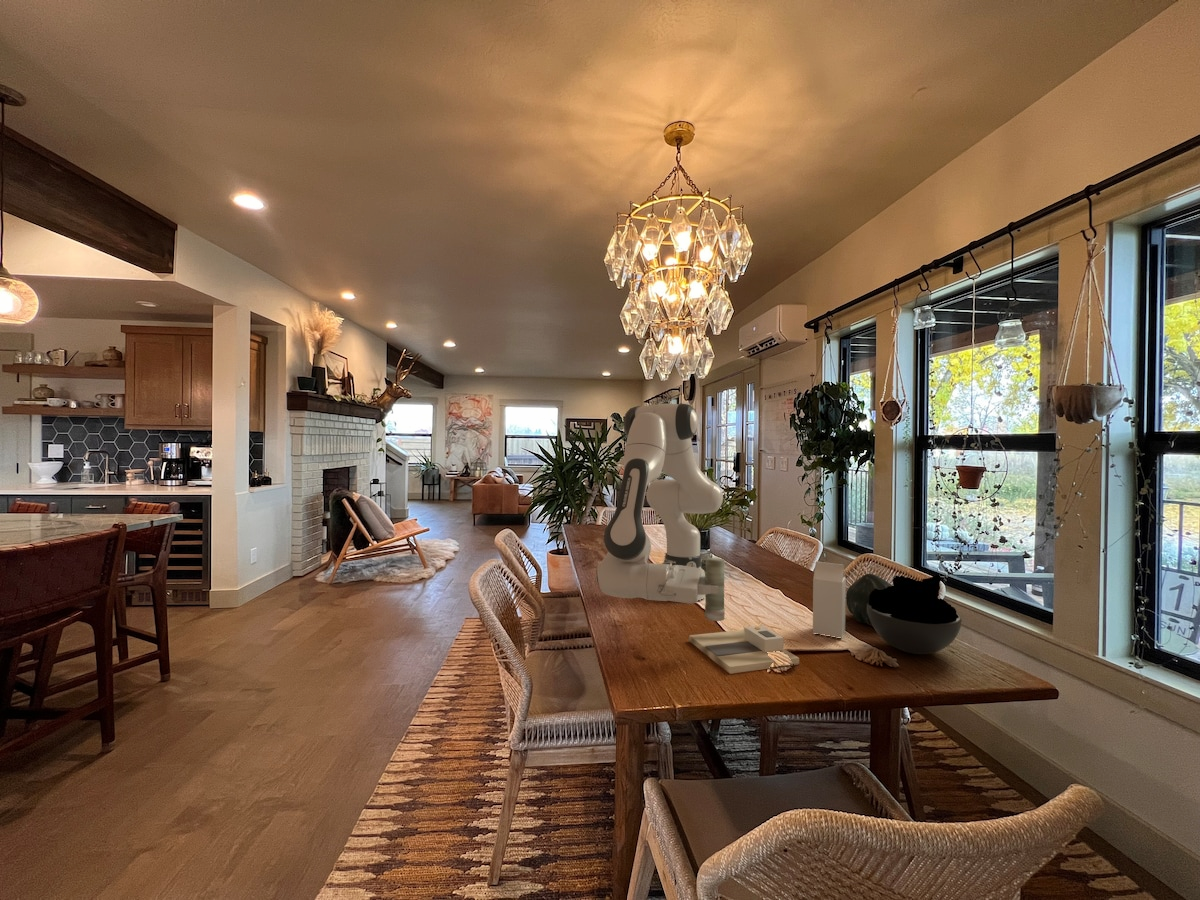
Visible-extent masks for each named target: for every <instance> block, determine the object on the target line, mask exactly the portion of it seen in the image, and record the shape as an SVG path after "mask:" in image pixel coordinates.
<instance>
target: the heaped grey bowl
mask: <svg viewBox="0 0 1200 900" xmlns="http://www.w3.org/2000/svg"><path fill="white" fill-rule="evenodd" d="M891 581H892V586H888V587H887V588H886V589H882V590H878V589H876V588H875V589H874V590H873V591H872V592H871V594H870V595H869V603H868V604H867V612H868V616H869V619H870V622H871V624H872V625H871V626H872V627H873V629H874V630H875V632H876V634H878V635H879V636H880V638H881V639H883V641H885V642H886V643H887V644H889V645H890V646H892V648H893V647H894V648H896V649H897V650H899V651H902V652H905V653H908V654H912V655H928V654H934V653H937V652H939V651H942V650H944V649H946V648H947V647H948V646H950V645H951V644H952V643H953V642H954V641H955V639H956V638H957V636H958V634H959V632H960V631H961V627H962V626H961V625H962V622H963V621H962V619H963V618H962V617H961V616H960V614H958V613H957V609H956V608H955V607H953V606H952V605H951V603H948V602H947V601H946V600H945V599H943V598H939V595H940V589H941V585H940V583H941V582H942V576H941V575H939V574H938V575H933V576H931V577H927V578H922V580H918V579H917V580H916V579H914V578H911V577H909V576H904V575H894V577H893V578H892V580H891Z"/></svg>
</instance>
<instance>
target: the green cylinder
mask: <svg viewBox="0 0 1200 900" xmlns="http://www.w3.org/2000/svg"><path fill="white" fill-rule="evenodd" d="M725 562H726V561H725V559H723V558H719V557H708V558H706V559H705V576H706V585H711V584H713V585H718V586H719V590H718V594H706V596H705V598H704V601H705V606H704V618H705V619H706V620H708V621H713V622H721V621H722V622H723V621H724V620H725V613H726V612H725V609H726V608H725V565H726V564H725Z"/></svg>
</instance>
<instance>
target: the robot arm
mask: <svg viewBox="0 0 1200 900" xmlns="http://www.w3.org/2000/svg"><path fill="white" fill-rule="evenodd" d="M698 425H699V419H698V415H697V411H696V409H695V408H694V407H693V406H692V405H691V404H688V403H678V404H677V403H658V404H647V405H645V406H641V405H638V406H637V405H636V406H634V407H631V408H629V409H628V410H627V411H626V413H625V414H624V417H623V428H624V429H623V430H624V433H625V435H626V437H627V438H626V442H625V447H624V455H623V469H622V470H623V473H622V479H621V484H620V489H619V494H618V499H617V504H616V508H615V512H614V513H613V515H612V517H611V519H610V520H609V521H608V523H607V524H606V527H605V529H604V533H603V543H604V546H605V548H606V550H607V553H606V554H605V557H603V559H602V560H601V561H600V562H599V563H598V564H597V567H596V581H597V582H596V583H597V585H598V587H599V590H600V591H601V592H602V593H603V594H605V595H607V596H610V597H615V598H623V599H635V598H640V599H641V598H642V599H645V600H648V601H660V602H662V601H663V602H669V601H670V602H675V603H683V604H696V603H698V602H699V601H698V600H700V601H702V600H701V599H703V598H704V597H705V598H706V594H718V590H719V586H718V585H713V584H711V585H706V571H705V570H704V569H703V568H702V565H703V564H702V561H703V559H702V554H701V533H700V531H699V529H698V528H697V527H696V526H695V525H694V524H692V523H690V522H689V521H688V520H687V519H686V516H685V514H696V515H698V514H699V515H705V514H712V513H717V511H718V510H719V509H720V508H721V506H722V504H723V501H724V496H723V491H722V489H721V486H720V485H718V483H716V482H714V481H713V480H711V479H710V478H709V477H707V476H706V475H705V474H704V472H703V471H702V470H701V469H700V467H699V466H698V463H697V460H696V456H695V453H694V446H693V441H692V437H693V436H695V434H696V433H697V429H698ZM662 472H663V473H664V474H665V475H666V476H668V477H669V478H667V479H666V478H665V479H664V478H663V479H660V480H657V479H659V478H660V477H661V474H662ZM670 478H671V479H670ZM645 497H646V502H647V504H648V505H649V507H650V508H651V509H652V510H654V512H656V513H657V515H658V516H659V518H660V519H661V521H662V523H663V525H664V529H665V537H666V539H665V540H666V552H665V553H664V561H663V562H662V563H652V562H651V563H650V562H649V559H650V553H651V550H652V543H651V540H650V538H649V535H648V534H647V532H646V531H645V528H644V526H643V525H644V524H643V520H642V514H643V508H644V504H645ZM705 598H704V599H705ZM704 599H703V600H704Z"/></svg>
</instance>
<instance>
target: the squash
mask: <svg viewBox="0 0 1200 900" xmlns="http://www.w3.org/2000/svg"><path fill="white" fill-rule="evenodd" d="M888 586H893V584H891V583H890V582H888V581H887V580H886V579H883V578H882V577H880V576H878V575H876V574H875V573H874V574H873V573H866V574H864V575H862V576H861V577H860V578H858V579H856V581H854V582H853V583H852V584H851V585H849V587H848V589H847V590H846V593H845V601H846V606H847V609H848V612H850V614H851V615H852V616H853V618H854V619H855V621H857V622H859V623H863V624H867V625H868V626H872V624H871V622H870V619H869V616H868V612H867V604H868V603H869V595H870V594H871V592H872V591H873V590H874V589H875V588H876V589H878V590H882V589H886V588H887V587H888Z"/></svg>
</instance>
